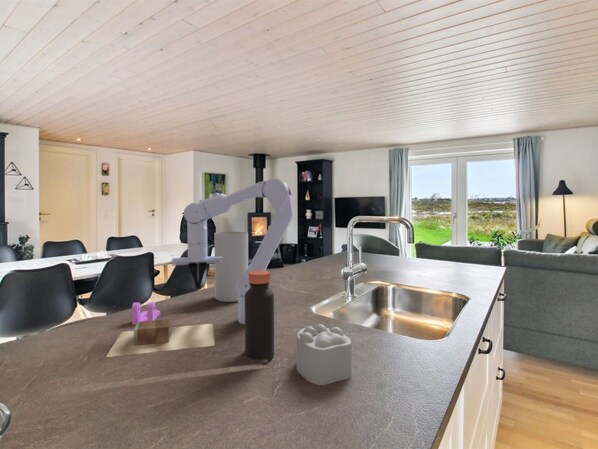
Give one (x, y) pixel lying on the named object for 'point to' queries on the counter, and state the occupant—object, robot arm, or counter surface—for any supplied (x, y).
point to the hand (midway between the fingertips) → (198, 287)
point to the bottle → (259, 317)
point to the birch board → (178, 340)
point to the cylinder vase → (230, 263)
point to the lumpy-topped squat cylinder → (323, 354)
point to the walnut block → (152, 332)
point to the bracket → (144, 313)
